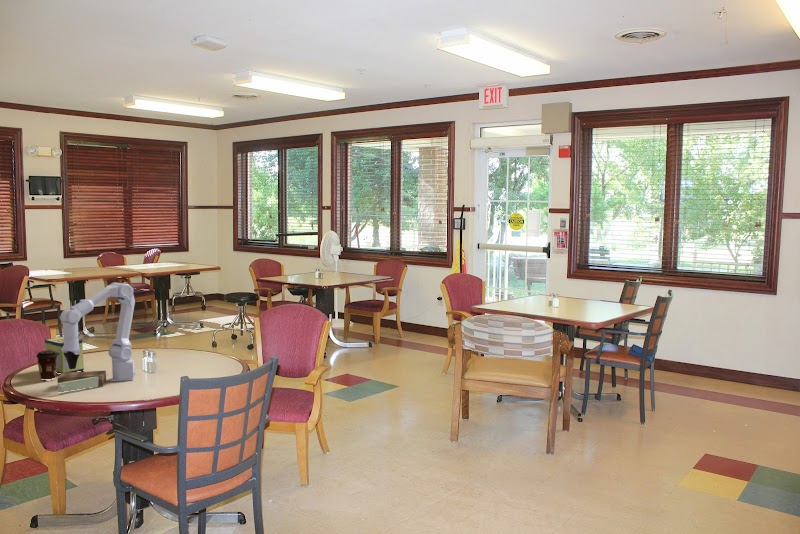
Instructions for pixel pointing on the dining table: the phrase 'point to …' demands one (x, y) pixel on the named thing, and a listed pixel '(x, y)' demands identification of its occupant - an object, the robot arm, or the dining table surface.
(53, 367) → the coffee cup
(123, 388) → the dining table surface
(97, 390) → the dining table surface
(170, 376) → the dining table surface
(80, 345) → the protein box
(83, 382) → the pale green bar
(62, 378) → the walnut box
